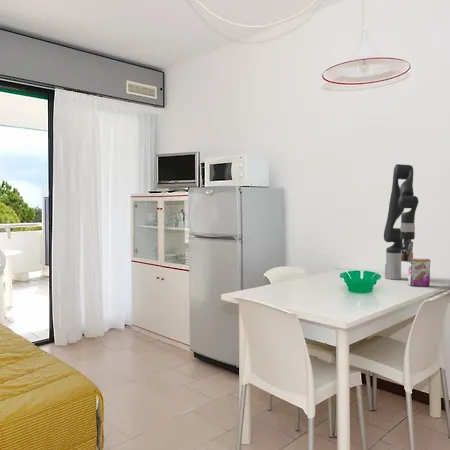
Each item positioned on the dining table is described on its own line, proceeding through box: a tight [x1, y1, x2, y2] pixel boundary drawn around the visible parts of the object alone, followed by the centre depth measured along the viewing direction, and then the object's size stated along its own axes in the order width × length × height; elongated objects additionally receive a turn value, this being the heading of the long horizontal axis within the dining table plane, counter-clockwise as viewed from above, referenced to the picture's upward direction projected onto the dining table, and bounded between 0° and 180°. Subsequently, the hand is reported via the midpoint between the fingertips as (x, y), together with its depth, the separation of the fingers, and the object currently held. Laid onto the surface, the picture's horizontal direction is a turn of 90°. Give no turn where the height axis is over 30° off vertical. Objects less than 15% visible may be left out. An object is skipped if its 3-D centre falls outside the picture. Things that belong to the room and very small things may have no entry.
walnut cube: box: [401, 251, 414, 263], centre depth 241 cm, size 5×5×5 cm
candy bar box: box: [407, 257, 431, 287], centre depth 252 cm, size 11×5×16 cm, turn 84°
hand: (406, 260), depth 241 cm, fingers closed on walnut cube, 5 cm apart
